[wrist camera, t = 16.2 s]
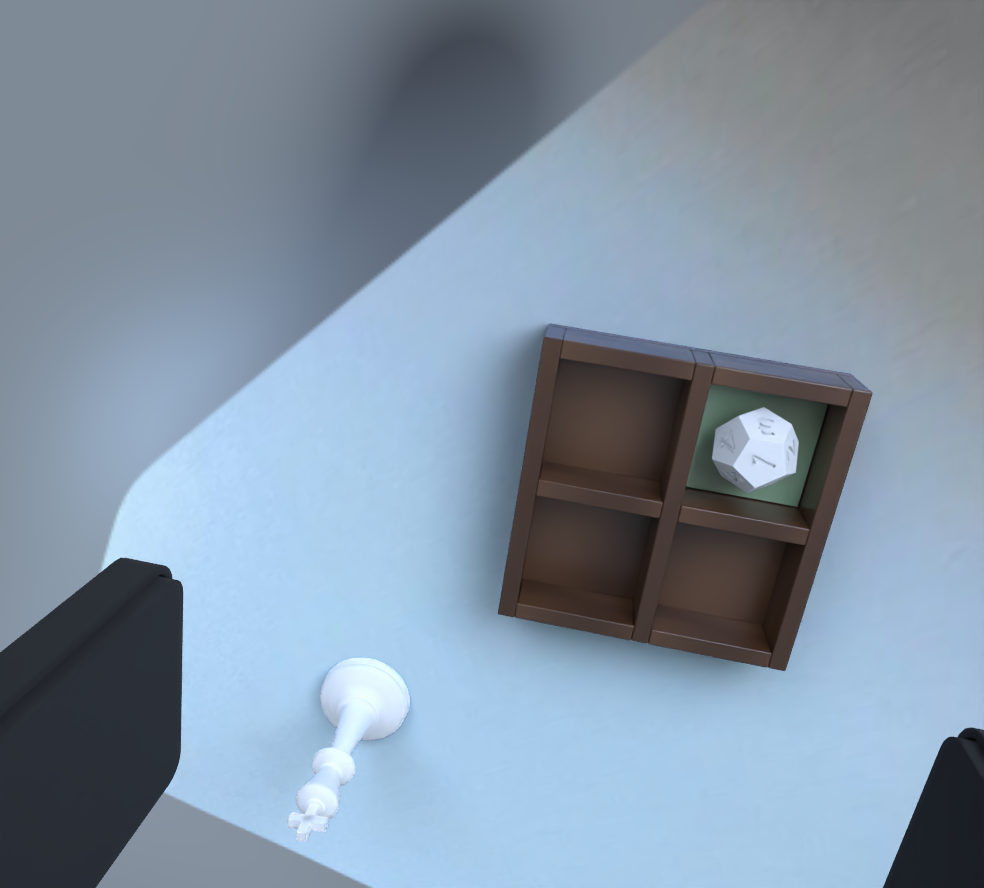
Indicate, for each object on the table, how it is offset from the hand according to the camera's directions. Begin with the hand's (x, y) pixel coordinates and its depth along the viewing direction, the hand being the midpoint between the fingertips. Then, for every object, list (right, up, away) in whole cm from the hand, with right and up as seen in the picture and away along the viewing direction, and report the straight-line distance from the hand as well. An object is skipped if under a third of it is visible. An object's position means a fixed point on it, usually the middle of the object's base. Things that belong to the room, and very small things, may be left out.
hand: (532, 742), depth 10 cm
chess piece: (-7, -10, +35) cm, 37 cm away
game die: (+11, +4, +26) cm, 29 cm away
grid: (+8, +2, +28) cm, 29 cm away
